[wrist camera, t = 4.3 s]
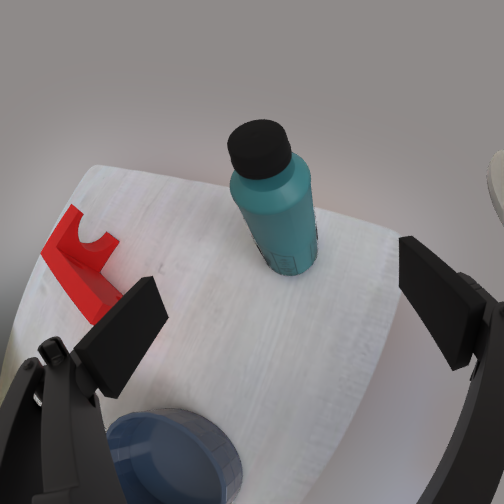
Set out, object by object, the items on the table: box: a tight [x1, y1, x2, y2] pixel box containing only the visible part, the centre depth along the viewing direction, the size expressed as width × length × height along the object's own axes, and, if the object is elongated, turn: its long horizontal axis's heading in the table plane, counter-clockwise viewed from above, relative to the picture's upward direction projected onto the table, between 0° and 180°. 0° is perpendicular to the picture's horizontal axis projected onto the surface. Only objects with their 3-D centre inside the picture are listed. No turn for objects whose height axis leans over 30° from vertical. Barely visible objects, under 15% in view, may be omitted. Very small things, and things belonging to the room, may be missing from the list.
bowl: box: [106, 408, 243, 504], centre depth 23 cm, size 16×16×6 cm
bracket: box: [40, 204, 123, 325], centre depth 34 cm, size 18×10×10 cm
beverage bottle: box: [227, 119, 318, 276], centre depth 25 cm, size 6×7×20 cm
